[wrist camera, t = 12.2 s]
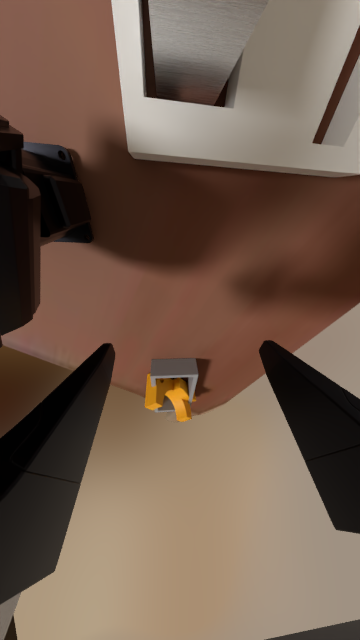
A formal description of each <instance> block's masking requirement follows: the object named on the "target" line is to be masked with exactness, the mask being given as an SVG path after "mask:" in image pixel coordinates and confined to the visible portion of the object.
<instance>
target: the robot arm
mask: <svg viewBox="0 0 360 640" xmlns="http://www.w3.org/2000/svg"><path fill="white" fill-rule="evenodd" d="M61 152H64V154H65V156H66V159H65V160H63V159H62V157H61ZM90 220H91V217H90V213H89V209H88V205H87V202H86V198H85V194H84V190H83V187H82V184H81V183H80V182H79V181H78V179H77V175H76V172H75V168H74V164H73V161H72V157H71V155H70V153H69V151H68V150H67V149H66V148H64V147H62V146H59V145H50V144H40V143H30V142H24V140H23V134H22V133H21V132H19V131H18V130H16V129H15V128H13V127H12V126H10V125H9V121H8V120H6V119H5V118H4V117H2V116H1V115H0V348H1V347H2V345H3V344H2V340H1V335H4V334H6V333H8V332H11V331H13V330H15V329H18V328H20V327H22V326H24V325H25V324H27V323H28V322H29V321H31V320H32V319H33V314H34V313H35V312H36V310H37V308H38V306H39V304H40V246H43V245H45V244H48V243H50V242H53V241H54V242H78V243H90V242H92V241H93V239H94V237H93V233H92V230H91V226H90ZM86 235H88V236H89V239H87V238H86ZM259 354H260V357H261V360H262V363H263V366H264V369H265V372H266V375H267V377H268V379H269V382H270V384H271V386H272V388H273V391H274V393H275V395H276V398H277V400H278V402H279V404H280V406H281V409H282V411H283V413H284V415H285V417H286V420H287V422H288V424H289V427H290V429H291V431H292V433H293V436H294V438H295V440H296V442H297V445H298V447H299V449H300V451H301V454H302V456H303V458H304V460H305V463H306V465H307V467H308V470H309V472H310V474H311V476H312V478H313V481H314V483H315V485H316V488H317V490H318V492H319V494H320V497H321V499H322V501H323V503H324V505H325V508H326V510H327V512H328V514H329V517H330V519H331V521H332V523H333V525H334V527H335V529H336V530H340V531H346V532H353V533H359V534H360V399H359V398H357V397H356V396H354V395H353V394H351V393H350V392H348V391H347V390H345V389H344V388H342V387H340V386H339V385H338V384H336V383H335V382H333V381H332V380H330V379H328V378H327V377H326V376H324V375H323V374H321V373H320V372H318V371H317V370H315V369H314V368H312V367H311V366H309V365H308V364H306V363H305V362H303V361H302V360H301V359H299V358H298V357H296V356H294V355H293V354H292V353H290V352H289V351H287V350H286V349H284V348H283V347H281V346H280V345H278V344H277V343H275V342H274V341H271V340H266V341H264V342H263V344H262V345H261V347H260V349H259ZM114 360H115V351H114V348H113V345H112V344H111V343H104V344H102V345H101V346H100V347H99V348H98V349H97V350H96V351H95V352H94V353H93V354H92V355H91V356H90V357H88V358H87V359H86V360H85V361H84V362H83V363H82V364H81V365H80V366H79V367H78V368H77V369H76V370H75V371H74V372H72V373H71V374H70V375H69V376H68V377H67V378H66V379H65V380H64V381H63V382H62V383H61V384H60V385H59V386H58V387H57V388H55V389H54V390H53V391H52V392H51V393H50V394H49V395H48V396H47V397H46V398H45V399H44V400H43V401H42V402H41V403H39V404H38V405H37V406H36V407H35V408H34V409H33V410H32V411H31V412H30V413H29V414H28V415H26V416H25V417H24V418H23V419H22V420H21V421H20V422H19V423H18V424H16V425H15V426H14V427H13V428H12V429H11V430H9V431H8V432H7V433H6V434H5V435H4V436H2V437H1V438H0V640H17V634H16V628H15V623H14V616H13V613H14V611H15V608H16V605H17V602H18V600H19V597H20V594H21V592H22V591H24V590H25V589H27V588H29V587H30V586H32V585H33V584H35V583H37V582H38V581H40V580H42V579H43V578H45V577H46V576H48V575H50V574H51V573H53V572H54V571H55V568H56V565H57V562H58V559H59V556H60V552H61V549H62V545H63V542H64V539H65V535H66V532H67V528H68V525H69V522H70V518H71V515H72V511H73V508H74V505H75V501H76V498H77V494H78V491H79V488H80V483H81V481H82V477H83V474H84V471H85V467H86V464H87V460H88V457H89V454H90V450H91V447H92V443H93V440H94V436H95V433H96V430H97V427H98V423H99V420H100V416H101V413H102V410H103V406H104V403H105V400H106V396H107V393H108V390H109V386H110V382H111V377H112V372H113V366H114ZM266 640H360V620H355V621H350V622H345V623H341V624H336V625H332V626H327V627H322V628H317V629H313V630H308V631H303V632H299V633H294V634H289V635H285V636H280V637H275V638H271V639H266Z"/></svg>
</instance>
